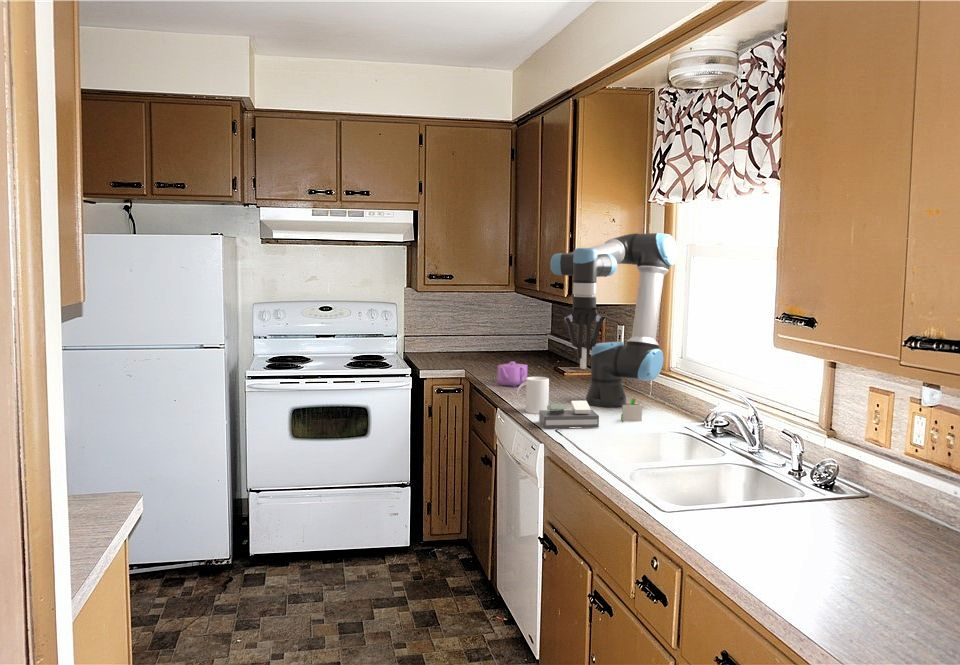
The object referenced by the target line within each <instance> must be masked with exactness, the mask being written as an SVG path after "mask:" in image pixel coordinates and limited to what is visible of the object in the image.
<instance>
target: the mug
mask: <svg viewBox="0 0 960 665" xmlns="http://www.w3.org/2000/svg"><path fill="white" fill-rule="evenodd" d="M524 386H525V400H522V399H521V398H520V396H519V391H520V389H521V388H522V387H524ZM549 388H550V379H549V377H545V376H527V378H526V382H524V383H522V384H521V385H518V387H517V390H516V396H517V399H518V401H519V402H520V403H521V404H523V405H525V412H526V413H527V414H534V415H539V410H547V406H548V405H550V404H549V400H550V399H549V398H550V396H549V394H550V393H549V392H550V391H549V390H550V389H549Z"/></svg>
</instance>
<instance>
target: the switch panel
mask: <svg viewBox="0 0 960 665" xmlns="http://www.w3.org/2000/svg"><path fill="white" fill-rule="evenodd" d="M538 415H539V416H538V422H539V424H540V426H541V427H542V428H543V429H544V430H553V429H555V428H558V429H570V428H569V427H599V428H600V426H599V425H600V416H599V414H597V413H596V412H595V411H594V410H593V409H591V414H575V413H574V410H573V409H563V410H539V414H538Z"/></svg>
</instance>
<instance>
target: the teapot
mask: <svg viewBox="0 0 960 665" xmlns="http://www.w3.org/2000/svg"><path fill="white" fill-rule="evenodd" d="M526 378H528V364H523V363H516V361H511V360H510V361H509V363H504V364H499V365H497V380H496V381H497V385H502V386H503V387H504V386H505V387H506V386H509V387H510V386H511V387H512V388H517V386H520V385H521V384H522V383H524V382H526Z"/></svg>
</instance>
